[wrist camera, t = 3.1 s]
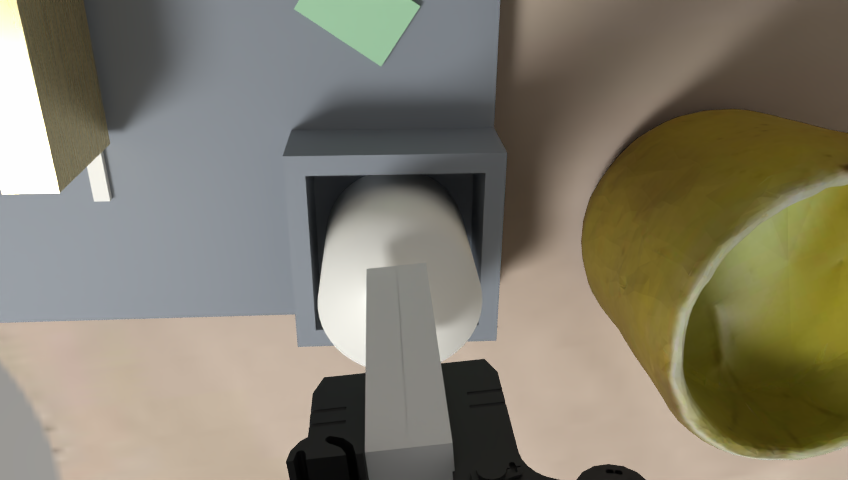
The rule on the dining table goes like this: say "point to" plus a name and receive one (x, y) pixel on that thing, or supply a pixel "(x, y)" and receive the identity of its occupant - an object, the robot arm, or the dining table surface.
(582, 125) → the dining table surface
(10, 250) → the board
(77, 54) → the grey and tan piece
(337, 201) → the button
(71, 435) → the dining table surface
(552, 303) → the dining table surface
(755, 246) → the mug
